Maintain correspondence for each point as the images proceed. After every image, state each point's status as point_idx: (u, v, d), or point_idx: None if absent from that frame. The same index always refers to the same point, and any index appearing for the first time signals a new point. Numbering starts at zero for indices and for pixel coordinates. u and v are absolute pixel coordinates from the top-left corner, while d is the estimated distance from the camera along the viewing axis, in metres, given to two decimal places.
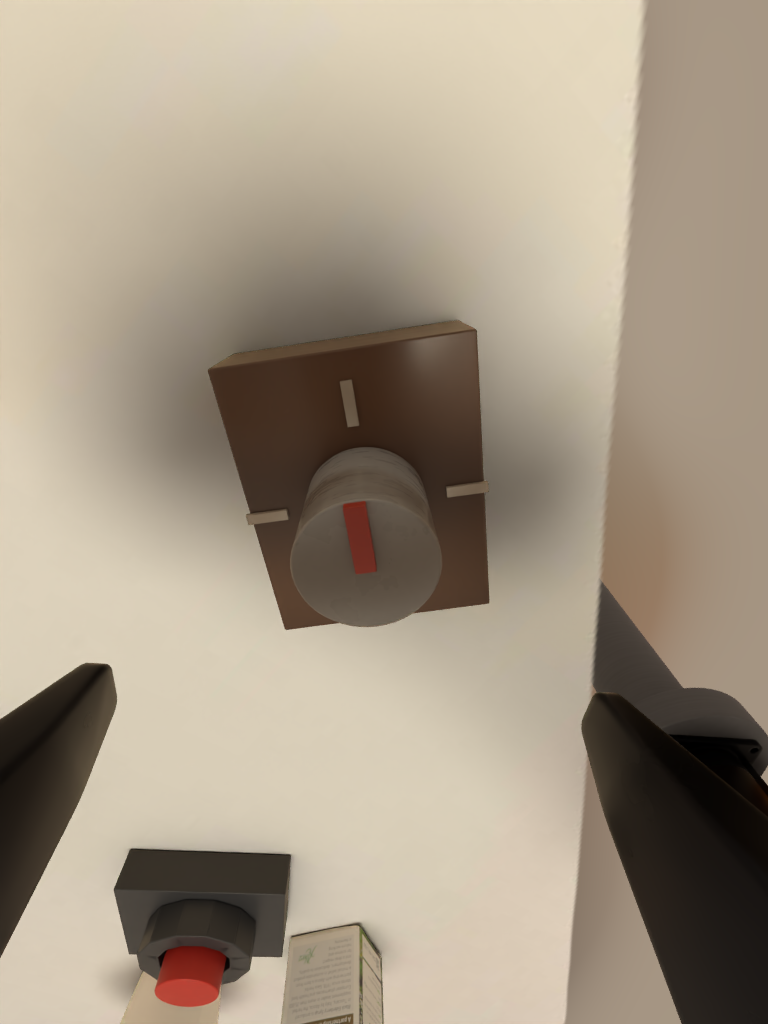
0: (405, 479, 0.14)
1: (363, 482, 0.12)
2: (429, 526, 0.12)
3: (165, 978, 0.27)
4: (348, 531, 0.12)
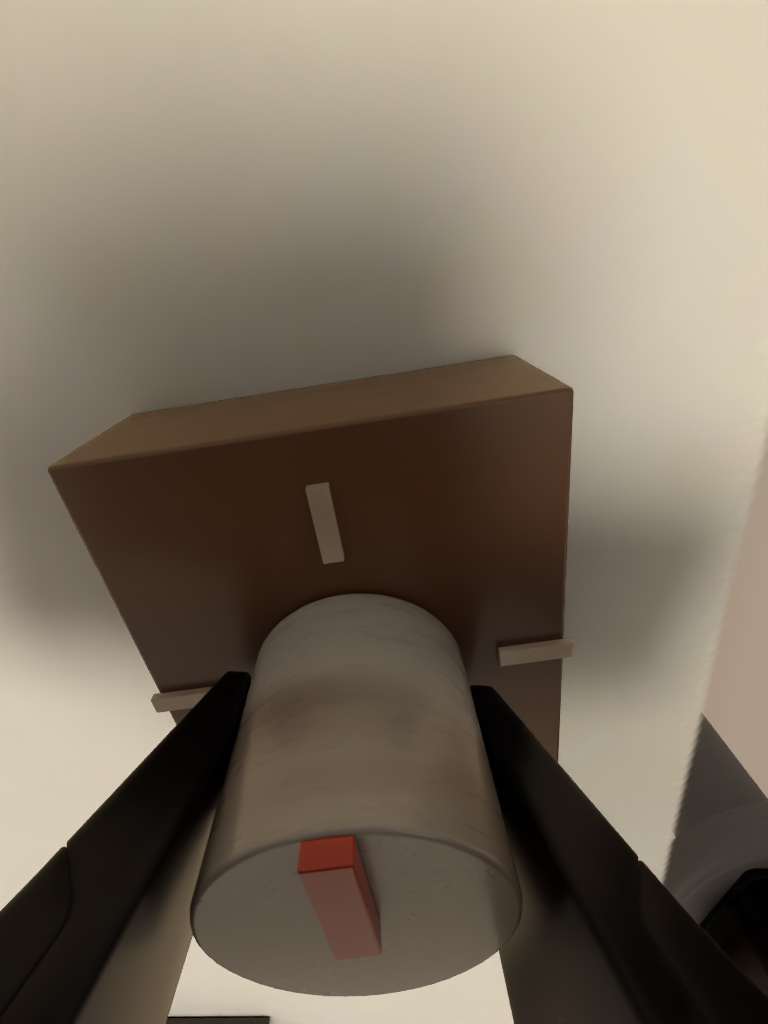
0: (436, 690, 0.07)
1: (350, 738, 0.06)
2: (500, 856, 0.05)
3: None
4: (314, 904, 0.05)
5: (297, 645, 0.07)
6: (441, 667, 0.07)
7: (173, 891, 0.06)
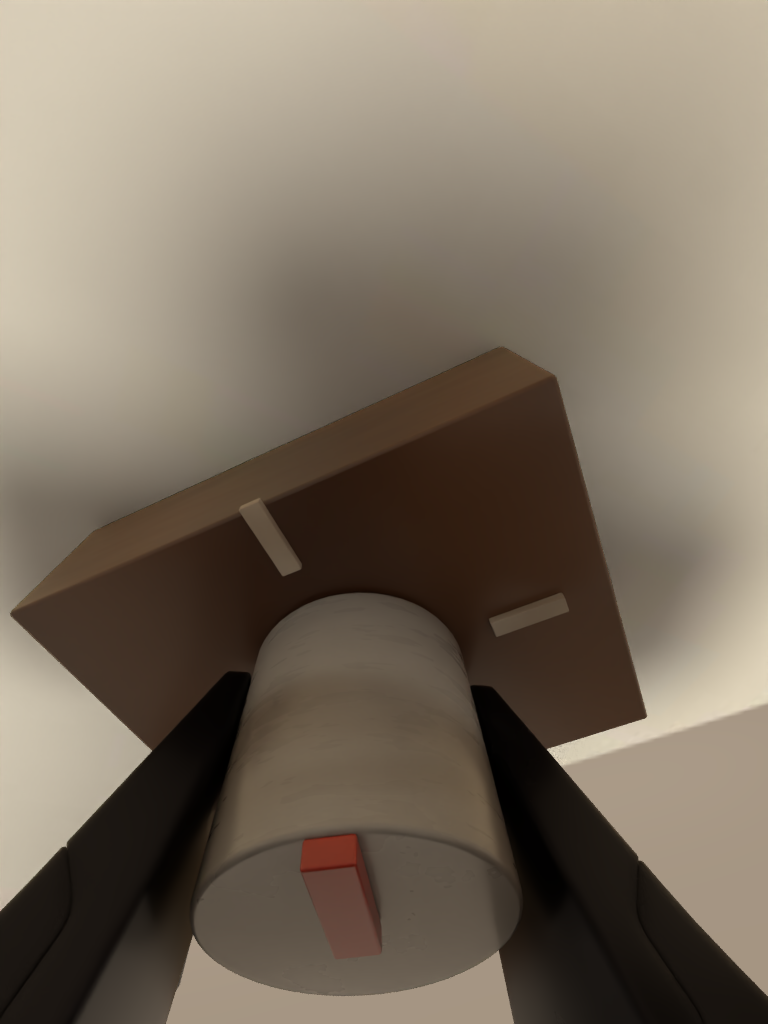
0: (438, 690, 0.07)
1: (353, 738, 0.06)
2: (502, 856, 0.05)
3: None
4: (315, 902, 0.05)
5: (298, 644, 0.07)
6: (442, 667, 0.07)
7: (173, 891, 0.06)
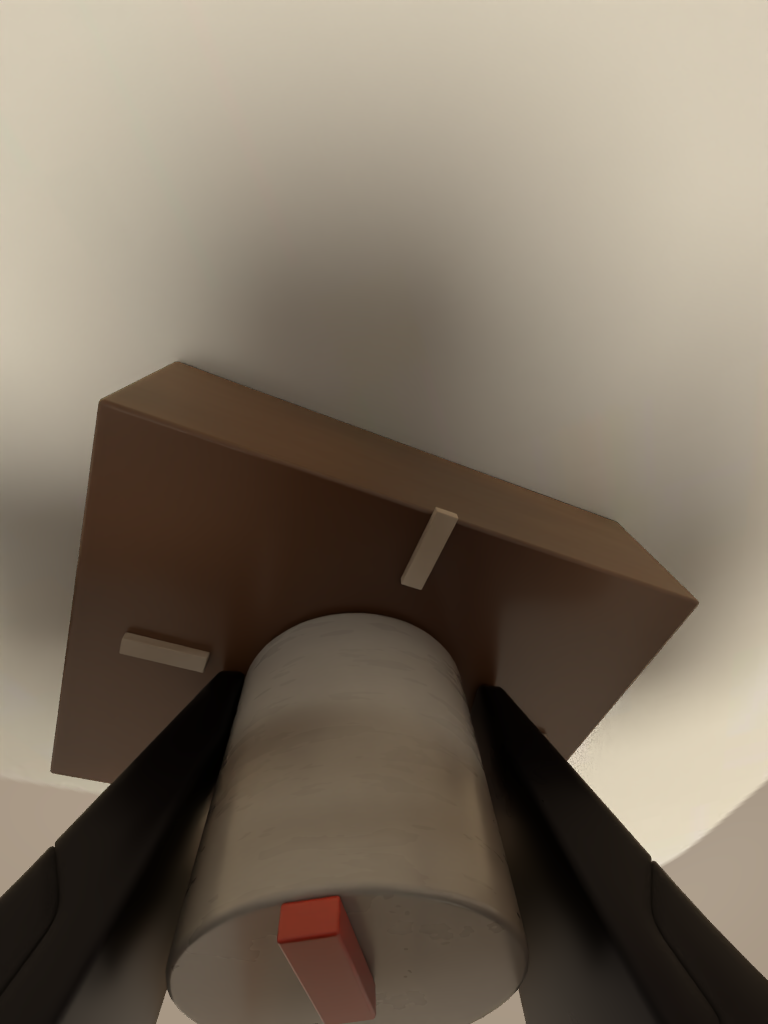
0: (432, 719, 0.06)
1: (338, 780, 0.05)
2: (503, 908, 0.05)
3: None
4: (298, 972, 0.04)
5: (283, 672, 0.07)
6: (437, 692, 0.07)
7: (162, 891, 0.06)
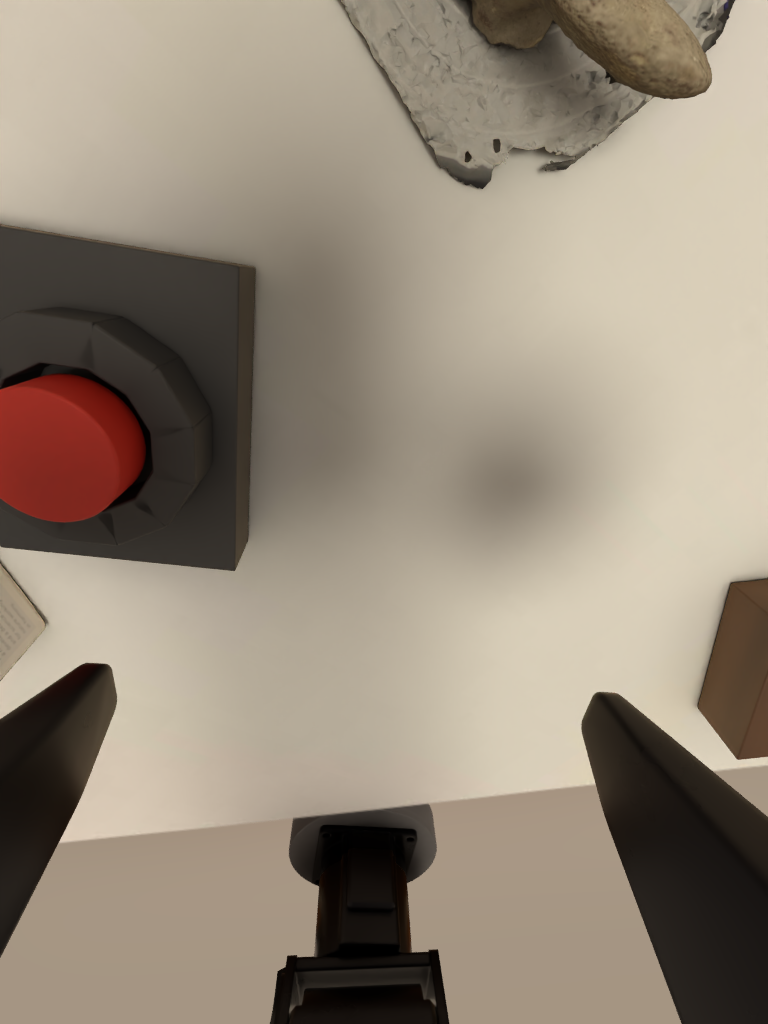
0: None
1: None
2: None
3: (100, 420, 0.12)
4: None
5: None
6: None
7: None
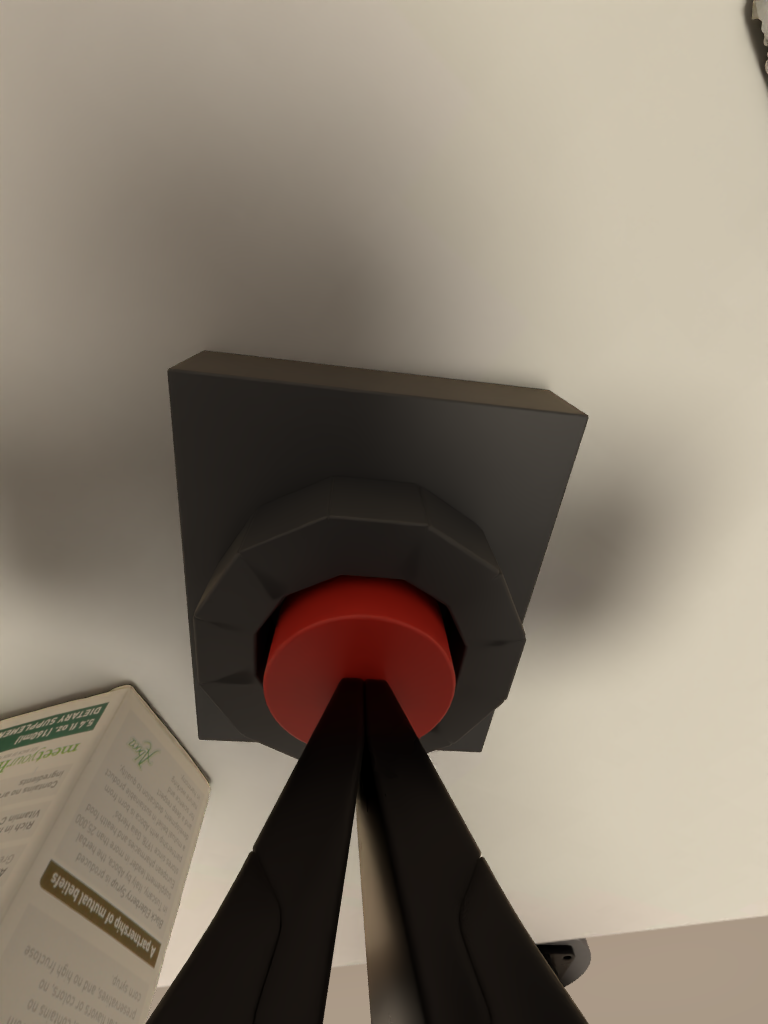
0: None
1: None
2: None
3: (441, 643, 0.09)
4: None
5: None
6: None
7: None
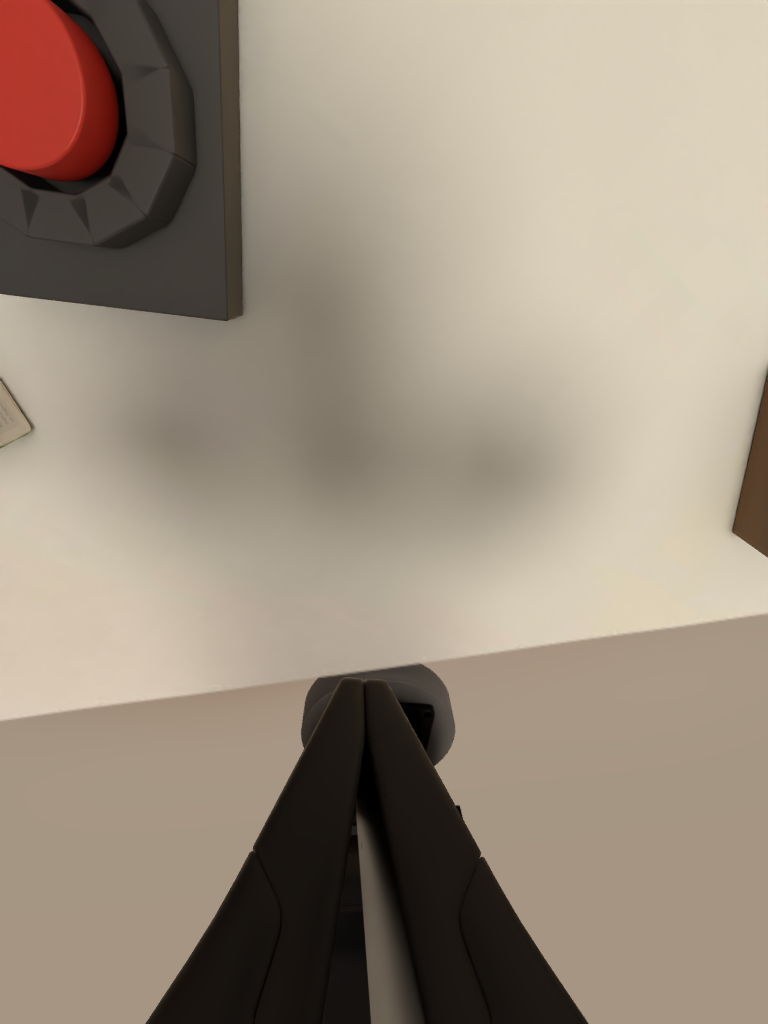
0: None
1: None
2: None
3: (59, 13, 0.10)
4: None
5: None
6: None
7: None
